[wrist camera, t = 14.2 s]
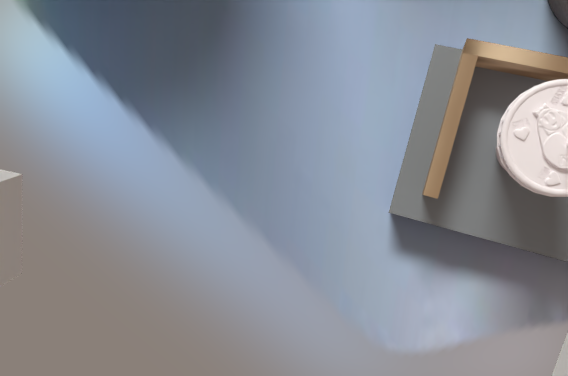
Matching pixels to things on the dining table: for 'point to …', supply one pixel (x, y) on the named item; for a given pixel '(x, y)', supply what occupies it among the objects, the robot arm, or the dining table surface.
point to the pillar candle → (560, 10)
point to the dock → (476, 166)
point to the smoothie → (537, 139)
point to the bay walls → (471, 56)
